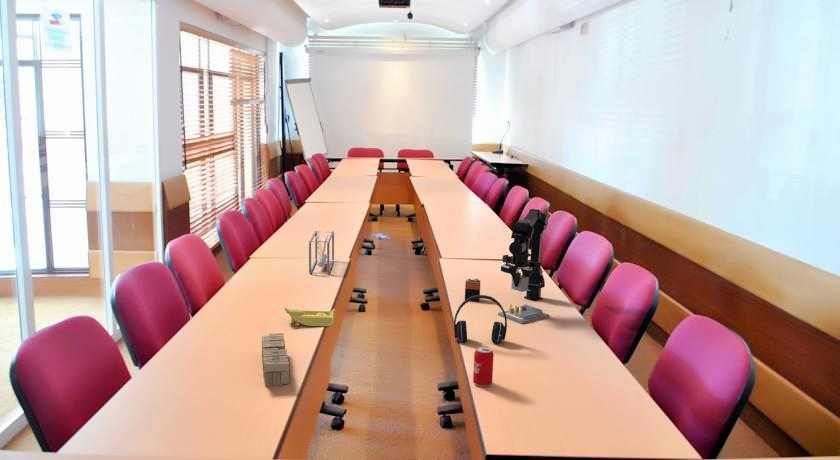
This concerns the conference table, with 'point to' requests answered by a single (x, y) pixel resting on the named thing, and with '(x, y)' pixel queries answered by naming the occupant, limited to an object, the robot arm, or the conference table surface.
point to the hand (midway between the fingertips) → (519, 286)
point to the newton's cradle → (323, 256)
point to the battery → (472, 288)
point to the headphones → (498, 327)
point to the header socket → (524, 314)
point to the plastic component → (312, 317)
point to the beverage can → (483, 366)
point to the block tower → (274, 360)
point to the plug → (521, 284)
